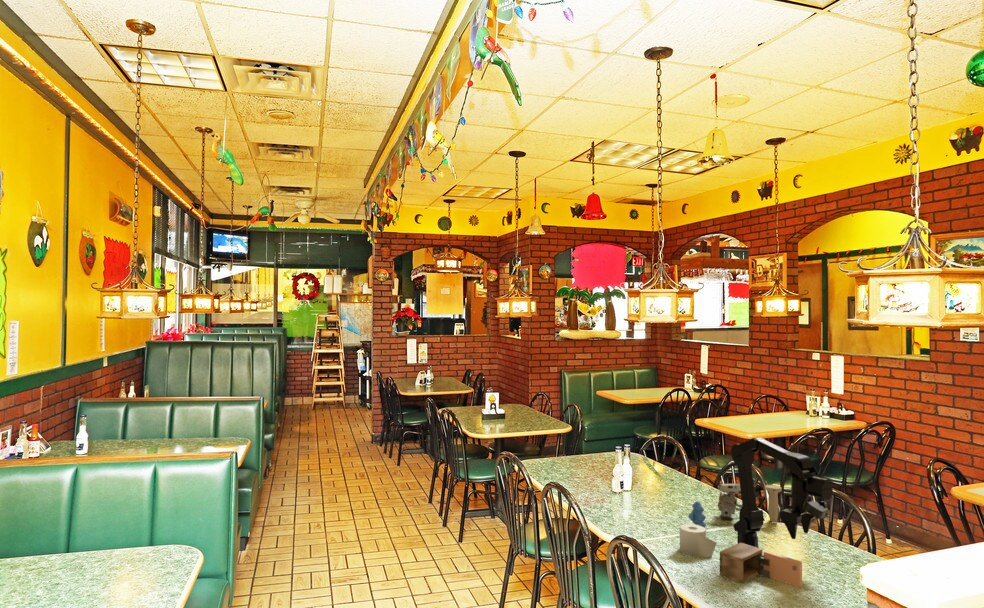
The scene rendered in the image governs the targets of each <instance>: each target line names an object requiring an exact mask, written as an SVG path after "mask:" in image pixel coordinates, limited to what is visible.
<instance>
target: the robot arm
mask: <svg viewBox="0 0 984 608" xmlns="http://www.w3.org/2000/svg"><path fill="white" fill-rule="evenodd" d="M757 452H761V453H763V454H765V455H767V456H769V457H771V458H773V459H775V460H777V461H779V462H781V463H782V464H783V466H784V467H785V468H786V469H788V470H789V471H788V472H787V473H785V476H786V477H789V478H790V479H791V480H790V483H791V484H790V486H791V487H790V489H791V490H790V493H788V498H790V504H788V508H785V509H782V510H780V511H778V518H779V519H780V520H781V521H782V522H783V524H784V525H785V528H786V529H787V531H788V534H789V535H790V538H791V539H792V540H796V538H797V534H798V533H797V532H798V525H800V524H801V527H802V529H803V534H809V531H810V527H811V524H812V522H813V519H814V518H815V519H817V520H822V519H824V518H825V517H826V515H827V513H829V508H828V503H827V501H828V500H830V499H831V497H832V496H833V487H832V485H831V483H829V479H828V478H823V477H820V474H819V473H818V471H817V469H816V467H815V466H814V463H813V461H812V459H811V457H809V456H808V455H804V454H802V453H798V452H792V451H788V450H786V449H784V447H783V448H782V447H781V446H779V445H777V444H774V443H772V442H770V441H768V440H767V439H765V438H763V437H761V436H759V437H752V438H751V439H748V440H747V441H744V442H741V443H735V444H733V445H732V446H731V447H730V454H731V457H732V461H733V463H734V465H736V467H737V472H738V481H739V484H740V490H741V494H740V496H741V505H742V507H741V510H740V511H739V514H738V515H739V519H738V521H736V522H735V523H734V524H733V529H734V531H735V532H737V534H736V535H737V538H736V539H737V543H736V544H738V543H740V542H741V543H744V544H747V545H751V546H754V547H757V548H760V546H759V537H758V533H757V532H760V531H761V528H762V527H763V526H764V521H765V517H764V511H763V509H760V508H759V507H758V506H757V501H756V495H755V486H754V485H755V484H754V478H753V477H754V476H753V471H752V470H753V469H752V466H753V463H754V460H755V453H757ZM813 497H816V498H819V499H820V500H822V501H820V502H818V501H815V500H813ZM825 501H826V502H825Z"/></svg>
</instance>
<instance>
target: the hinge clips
mask: <svg viewBox="0 0 984 608" xmlns="http://www.w3.org/2000/svg"><path fill="white" fill-rule="evenodd" d="M764 565H766V566H769V559H766V558H764V553H762V555H761V556H759V557H758V574H759V576H761V575H762V576H761V577H764V578H768V579H769V578H770V577H769V571H767V570H764Z"/></svg>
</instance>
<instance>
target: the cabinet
mask: <svg viewBox="0 0 984 608" xmlns="http://www.w3.org/2000/svg"><path fill="white" fill-rule="evenodd" d="M761 555H763V548H760V547H759V548H757V547H754V546H751V545H747V544H744V543H741V542H740V543H738V544H737V543H735V544H734V545H731V546H729V547H727V548H725V549H723V550H720V551H719V576H720V577H724V578H727V579H730V580H733V582H734V581H735V582H737V583H741V584H743V583H745V582H747V581H749V580H751V579H753V578H754V577H756V576H758V557H759V556H761Z"/></svg>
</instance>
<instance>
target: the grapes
mask: <svg viewBox="0 0 984 608" xmlns="http://www.w3.org/2000/svg"><path fill="white" fill-rule="evenodd" d="M691 507H692V511H691V513H689V515H688V516H687V517H688V518H689V520H690V521H691V522H693V524H694V525H699V526H702V527H704V528H705V529H706V526H707V525H706V523H705V522H704V521H705V520H706V516H705V514H703V513H704V510H705V509H704V507H703V506H702V504H701V501H698V500H697V501H695V502H694V503H693V504H692V506H691Z"/></svg>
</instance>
